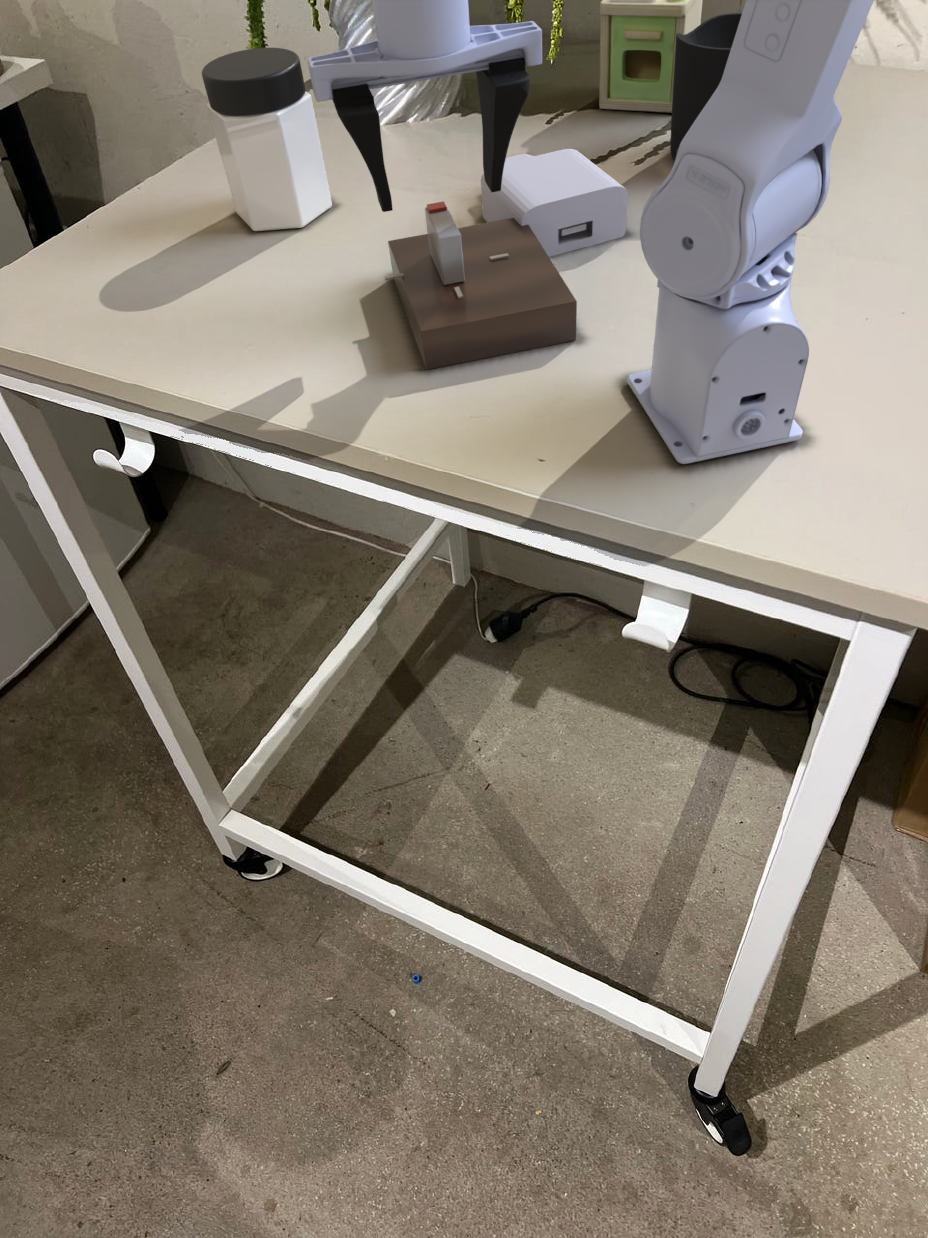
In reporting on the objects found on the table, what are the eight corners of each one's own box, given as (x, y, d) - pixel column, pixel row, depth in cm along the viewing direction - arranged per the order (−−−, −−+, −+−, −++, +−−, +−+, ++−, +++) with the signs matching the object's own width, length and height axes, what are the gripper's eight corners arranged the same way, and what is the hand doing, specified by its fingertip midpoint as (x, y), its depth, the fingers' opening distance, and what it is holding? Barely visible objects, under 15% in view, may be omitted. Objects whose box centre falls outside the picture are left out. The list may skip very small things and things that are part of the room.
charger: (550, 176, 81) (625, 241, 72) (458, 198, 80) (523, 268, 70) (549, 121, 78) (629, 182, 68) (454, 143, 76) (521, 209, 67)
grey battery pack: (465, 281, 63) (460, 230, 60) (443, 285, 62) (438, 234, 60) (450, 249, 66) (445, 199, 63) (429, 253, 66) (423, 203, 63)
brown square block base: (576, 340, 62) (577, 298, 60) (409, 373, 61) (403, 332, 59) (524, 252, 71) (523, 213, 69) (378, 279, 70) (372, 241, 68)
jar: (337, 187, 82) (310, 42, 73) (327, 227, 77) (297, 75, 68) (245, 195, 83) (206, 51, 74) (229, 234, 78) (185, 85, 69)
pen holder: (657, 141, 83) (666, 19, 76) (755, 131, 83) (775, 7, 75) (676, 182, 77) (689, 54, 70) (782, 172, 77) (807, 42, 69)
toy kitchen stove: (594, 111, 90) (599, -45, 80) (616, 85, 94) (622, -66, 84) (676, 117, 87) (691, -44, 77) (694, 90, 91) (711, -66, 81)
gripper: (518, -78, 53) (524, 155, 64) (285, -42, 52) (330, 190, 62) (551, -52, 49) (552, 194, 59) (296, -12, 47) (342, 233, 58)
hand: (439, 195), depth 60 cm, fingers open, 7 cm apart
